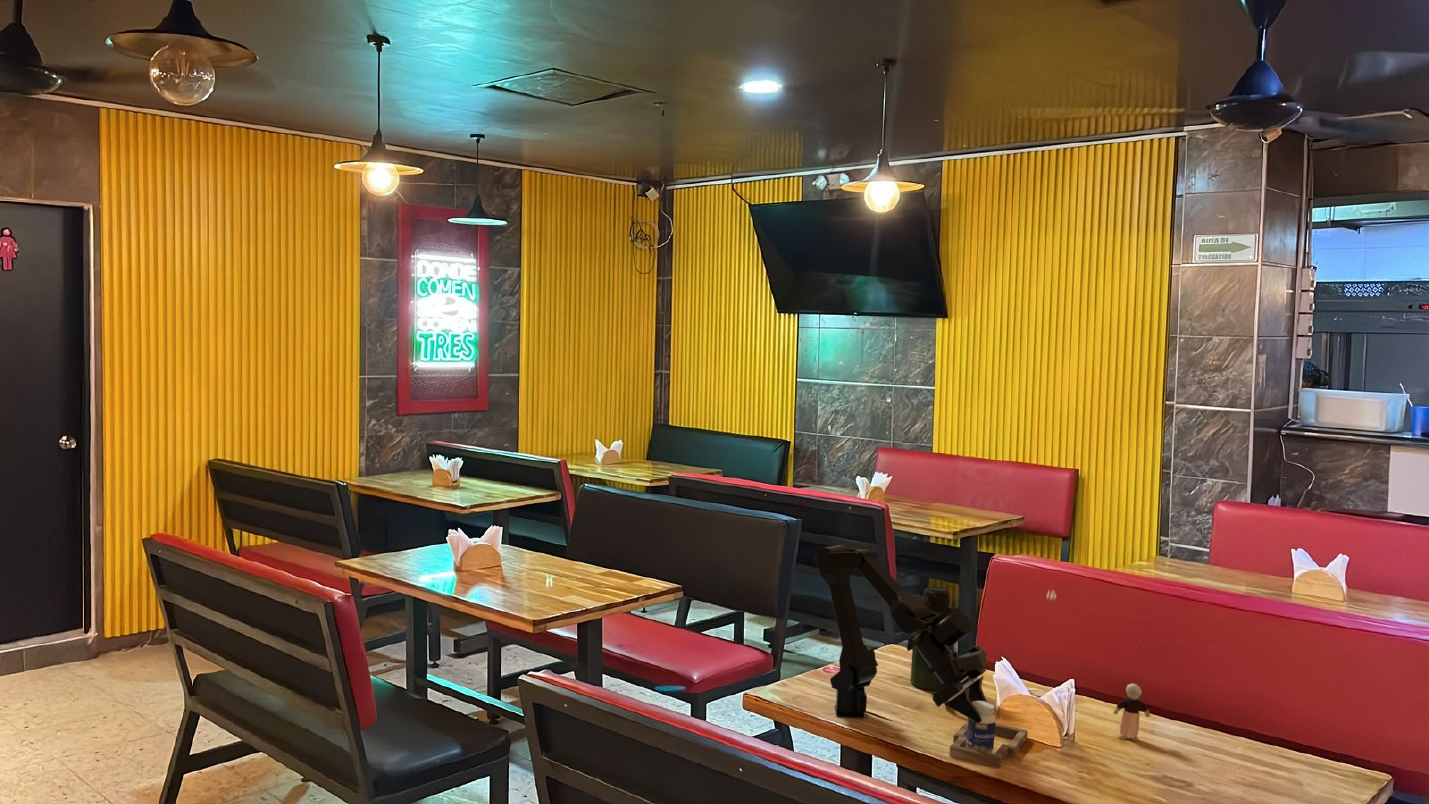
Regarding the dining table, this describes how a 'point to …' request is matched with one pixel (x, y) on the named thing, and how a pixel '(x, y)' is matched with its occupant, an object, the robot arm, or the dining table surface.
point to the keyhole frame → (994, 757)
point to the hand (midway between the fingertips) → (984, 717)
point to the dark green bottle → (937, 603)
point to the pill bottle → (982, 728)
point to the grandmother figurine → (1131, 713)
